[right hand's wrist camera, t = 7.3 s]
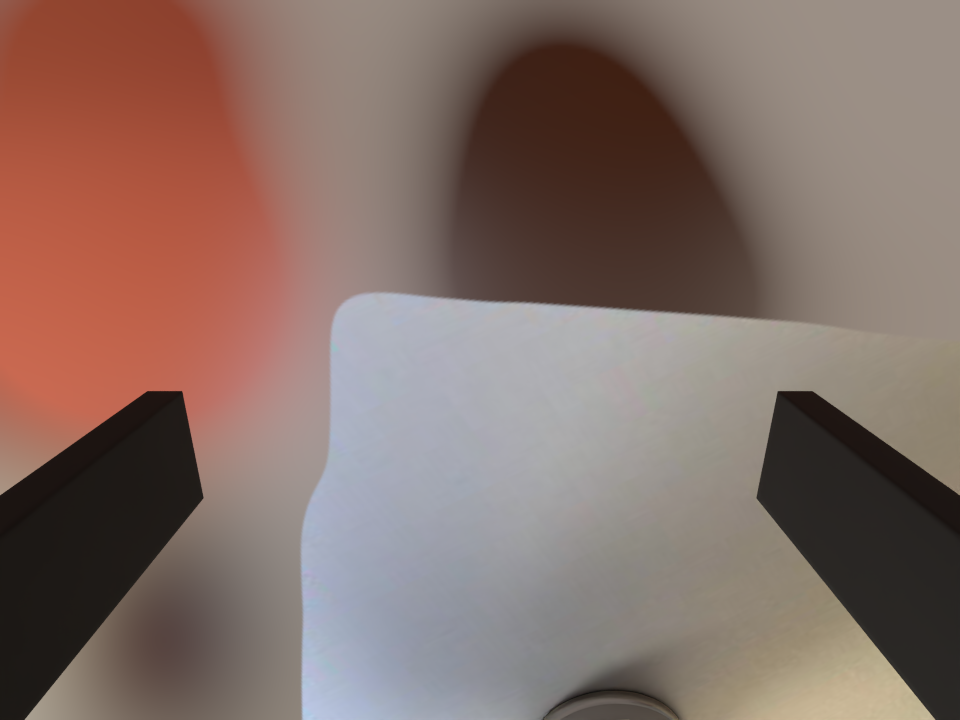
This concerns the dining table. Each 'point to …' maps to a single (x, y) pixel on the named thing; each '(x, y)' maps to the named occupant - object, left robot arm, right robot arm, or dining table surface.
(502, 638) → the dining table surface
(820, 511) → the right robot arm
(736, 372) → the dining table surface
